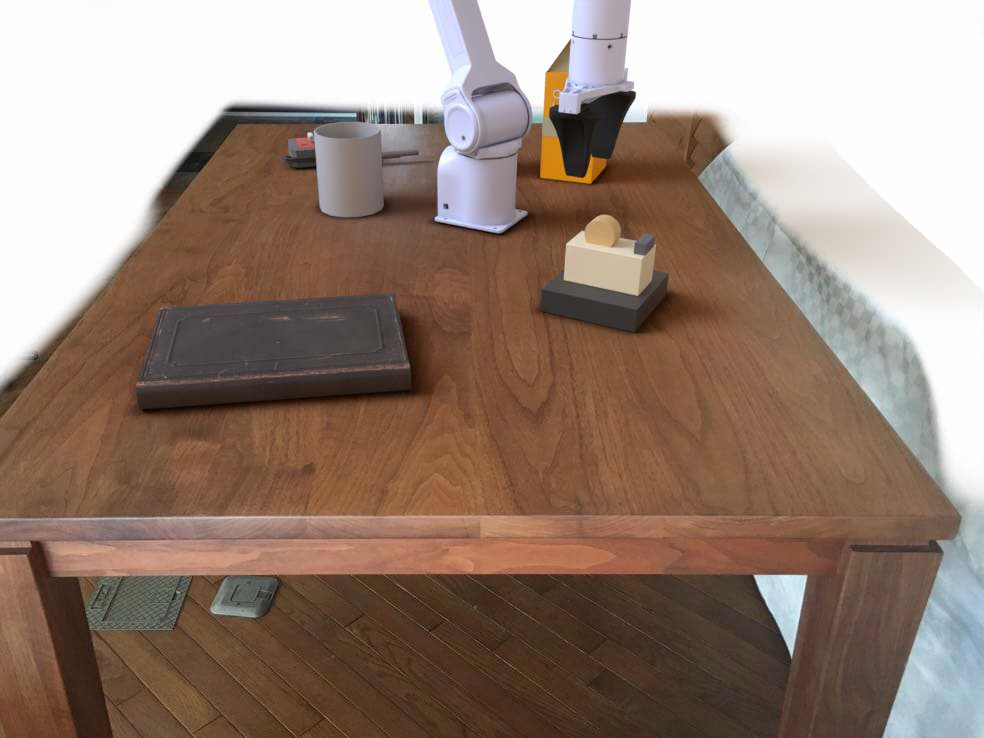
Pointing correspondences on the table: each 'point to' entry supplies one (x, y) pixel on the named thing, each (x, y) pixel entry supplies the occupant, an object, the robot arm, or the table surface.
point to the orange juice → (550, 142)
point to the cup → (349, 168)
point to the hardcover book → (274, 351)
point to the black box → (603, 302)
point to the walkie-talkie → (305, 152)
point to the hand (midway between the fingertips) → (588, 166)
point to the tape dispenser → (610, 258)
